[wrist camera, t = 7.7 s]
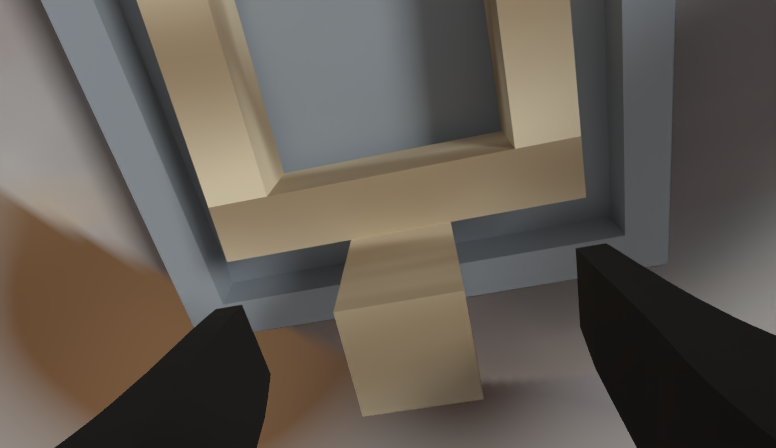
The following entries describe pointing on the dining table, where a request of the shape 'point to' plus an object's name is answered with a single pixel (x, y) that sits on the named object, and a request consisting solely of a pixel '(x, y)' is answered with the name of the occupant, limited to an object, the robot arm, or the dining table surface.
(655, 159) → the slate tray
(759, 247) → the dining table surface
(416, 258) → the tan frame with tab
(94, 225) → the dining table surface
